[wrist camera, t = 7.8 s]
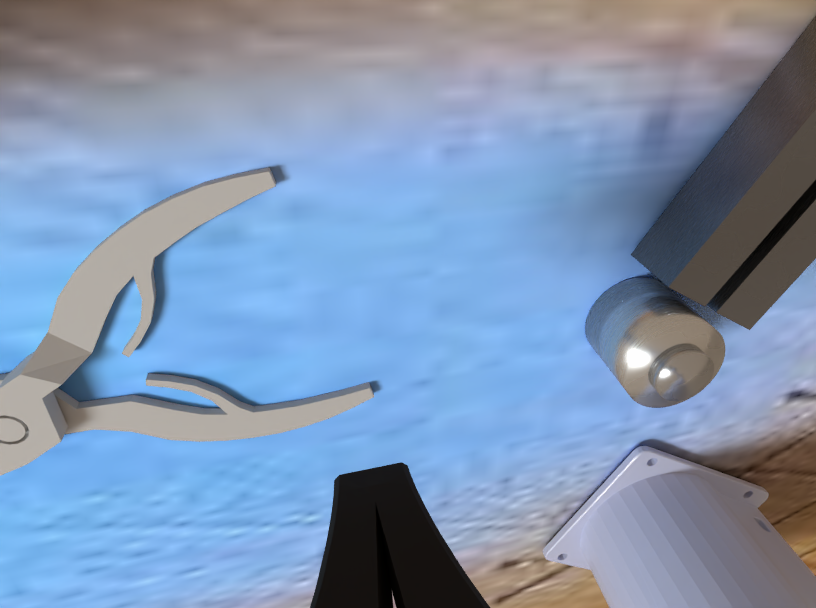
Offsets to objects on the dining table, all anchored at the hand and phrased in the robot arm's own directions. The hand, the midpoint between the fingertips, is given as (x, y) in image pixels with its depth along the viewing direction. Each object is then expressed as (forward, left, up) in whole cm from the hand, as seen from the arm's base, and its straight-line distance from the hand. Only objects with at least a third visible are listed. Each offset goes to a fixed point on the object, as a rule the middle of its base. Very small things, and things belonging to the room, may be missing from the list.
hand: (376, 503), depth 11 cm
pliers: (+5, +6, -10) cm, 13 cm away
